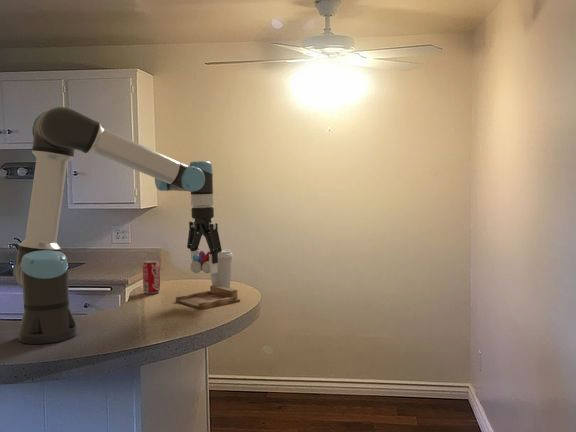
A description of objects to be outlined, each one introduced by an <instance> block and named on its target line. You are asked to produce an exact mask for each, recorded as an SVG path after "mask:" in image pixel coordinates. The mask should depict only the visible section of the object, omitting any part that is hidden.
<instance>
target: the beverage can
mask: <svg viewBox="0 0 576 432" xmlns="http://www.w3.org/2000/svg"><path fill="white" fill-rule="evenodd" d="M160 266H161V265H160V262H159V261H158V260H156V259H154V260H153V259H151V260H150V259H149V260H145V261H143V263H142V267H141V268H142V288H143V293H145V294H146V295H156V294H158V293H159V292H160V291H161V271H160V270H161V269H160Z"/></svg>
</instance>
